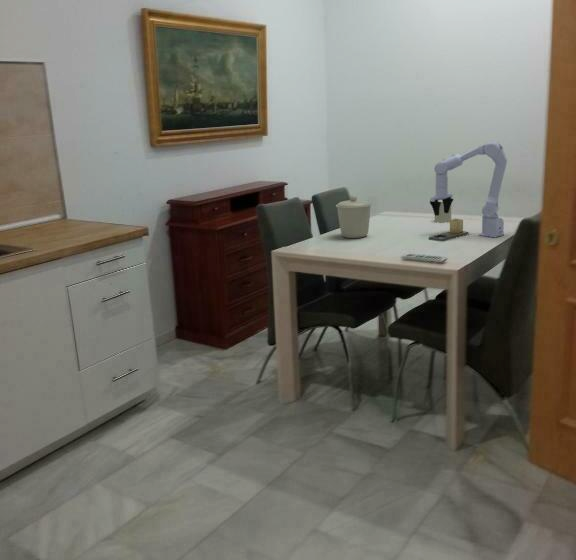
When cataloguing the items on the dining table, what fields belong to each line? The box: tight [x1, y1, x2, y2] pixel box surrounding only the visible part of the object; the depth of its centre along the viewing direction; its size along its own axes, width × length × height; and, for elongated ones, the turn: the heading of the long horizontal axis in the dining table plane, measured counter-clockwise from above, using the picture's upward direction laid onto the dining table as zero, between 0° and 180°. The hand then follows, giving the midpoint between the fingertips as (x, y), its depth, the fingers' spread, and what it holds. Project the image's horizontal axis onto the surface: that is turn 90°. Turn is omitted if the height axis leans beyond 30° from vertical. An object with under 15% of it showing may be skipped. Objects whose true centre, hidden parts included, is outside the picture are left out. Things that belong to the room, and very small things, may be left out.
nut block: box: [449, 218, 464, 234], centre depth 311 cm, size 4×4×8 cm
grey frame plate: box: [428, 230, 469, 242], centre depth 309 cm, size 8×20×1 cm, turn 129°
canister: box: [335, 194, 373, 239], centre depth 321 cm, size 18×18×21 cm
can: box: [434, 200, 452, 224], centre depth 348 cm, size 9×9×12 cm
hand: (441, 214), depth 314 cm, fingers open, 7 cm apart
